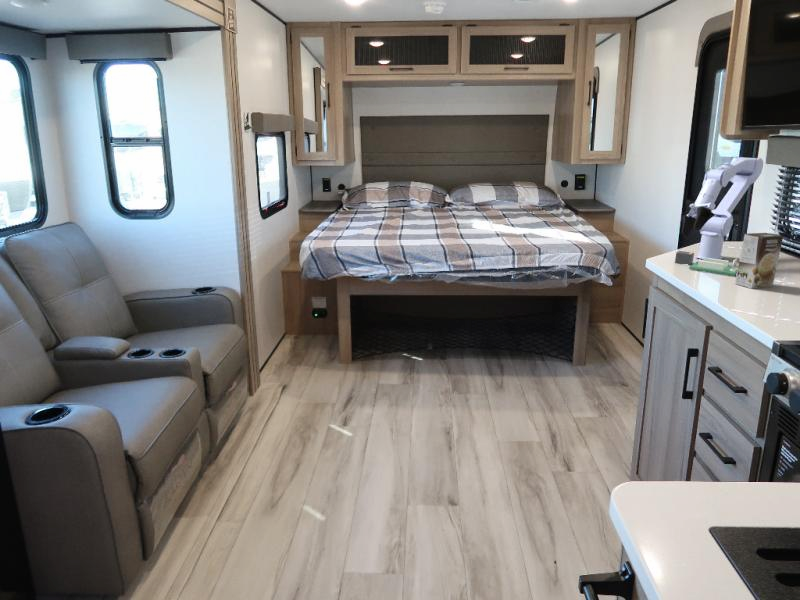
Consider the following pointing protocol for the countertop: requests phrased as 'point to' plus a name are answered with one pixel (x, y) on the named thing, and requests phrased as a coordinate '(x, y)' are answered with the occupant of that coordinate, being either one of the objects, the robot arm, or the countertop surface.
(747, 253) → the coffee box
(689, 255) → the plug
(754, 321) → the countertop surface
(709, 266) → the board
